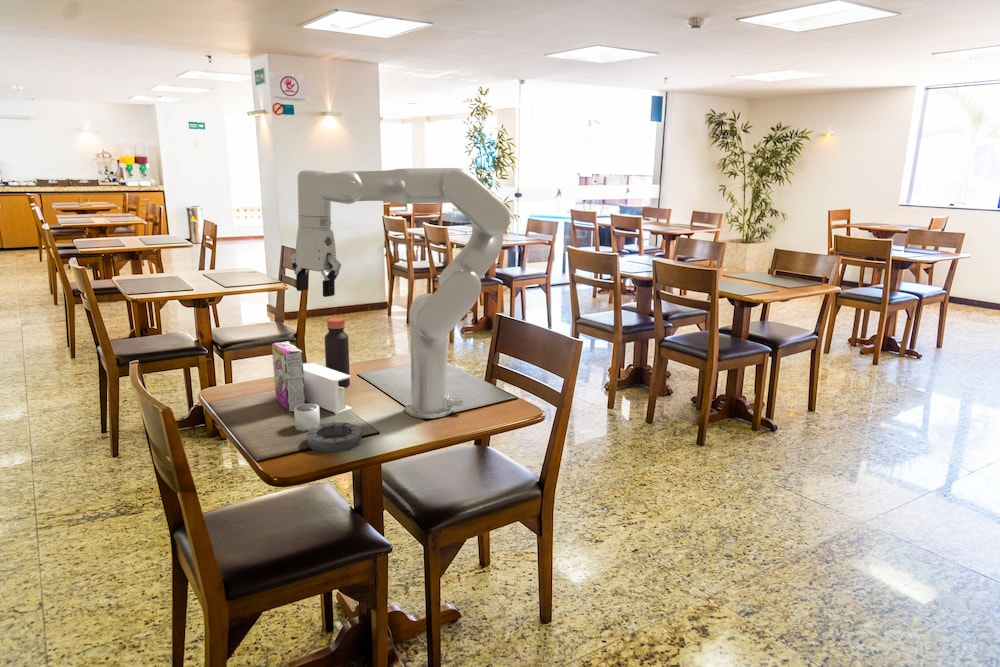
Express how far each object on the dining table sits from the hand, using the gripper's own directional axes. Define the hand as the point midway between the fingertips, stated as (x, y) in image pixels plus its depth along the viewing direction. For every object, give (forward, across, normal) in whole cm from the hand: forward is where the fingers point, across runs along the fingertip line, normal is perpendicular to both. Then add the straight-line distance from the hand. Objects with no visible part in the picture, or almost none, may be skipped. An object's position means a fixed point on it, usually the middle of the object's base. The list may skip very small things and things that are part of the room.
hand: (315, 293), depth 165 cm
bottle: (+33, +15, -21) cm, 42 cm away
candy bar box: (+33, +13, -2) cm, 36 cm away
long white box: (+33, +8, -8) cm, 35 cm away
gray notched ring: (+33, -15, +8) cm, 37 cm away
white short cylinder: (+33, -3, +5) cm, 33 cm away
